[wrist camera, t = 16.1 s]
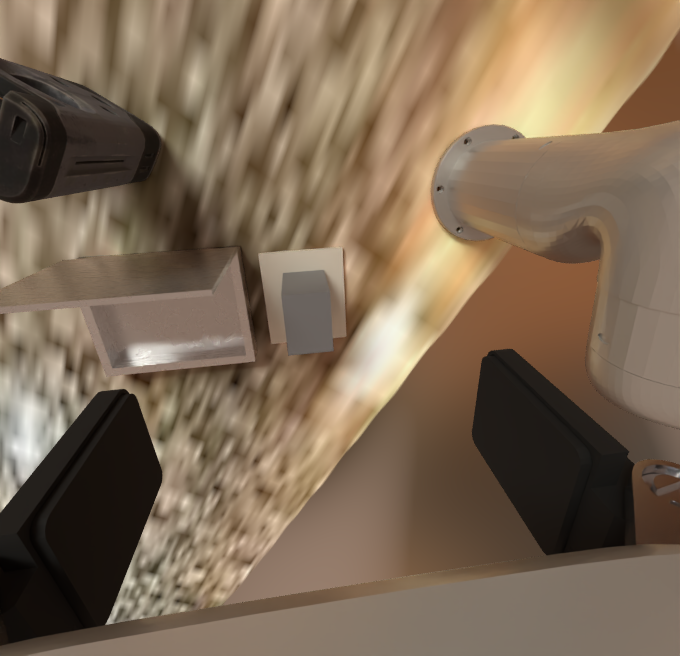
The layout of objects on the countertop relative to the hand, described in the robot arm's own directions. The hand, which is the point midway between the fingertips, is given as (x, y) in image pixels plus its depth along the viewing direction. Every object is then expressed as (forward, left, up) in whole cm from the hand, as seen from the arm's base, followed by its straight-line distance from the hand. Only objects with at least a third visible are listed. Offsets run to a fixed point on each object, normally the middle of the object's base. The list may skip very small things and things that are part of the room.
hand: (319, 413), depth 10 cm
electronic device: (+18, -9, -36) cm, 42 cm away
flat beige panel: (0, +10, -36) cm, 38 cm away
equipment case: (+16, +10, -36) cm, 41 cm away
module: (0, +10, -36) cm, 37 cm away
